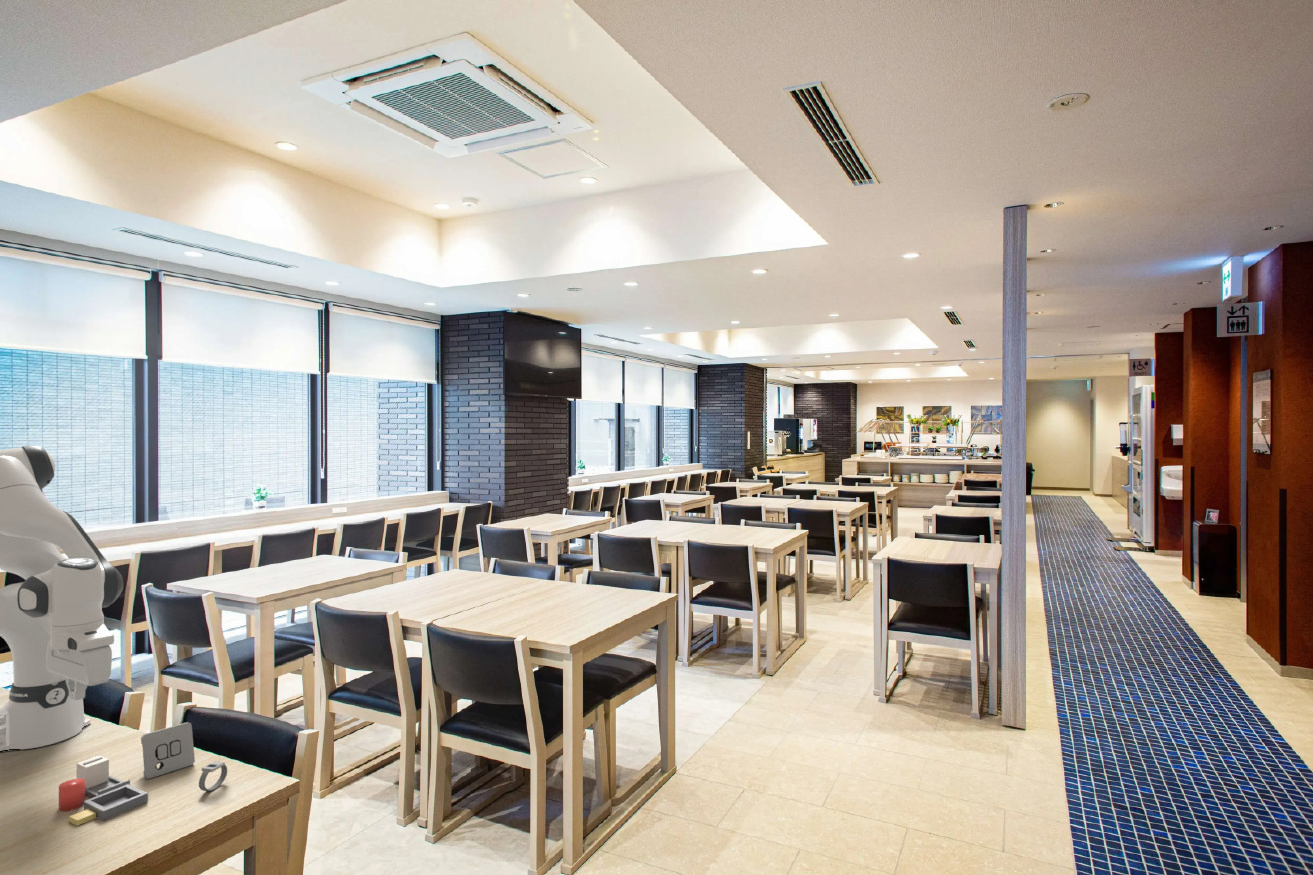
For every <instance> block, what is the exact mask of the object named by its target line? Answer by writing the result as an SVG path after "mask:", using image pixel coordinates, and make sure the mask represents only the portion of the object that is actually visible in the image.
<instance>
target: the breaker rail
mask: <svg viewBox="0 0 1313 875" xmlns="http://www.w3.org/2000/svg"><path fill="white" fill-rule="evenodd" d="M127 784H129V785H131V780H130V779H129V778H128V779H126V780H120V779H118V778H117V777H114V776H113V775H112V776H111V775H109V781H107V782H104V783H101V784H99V785H96V786H93V787H91V788H88V789H86V788H85V796H87V797H88V798H90V799H91V798H94V797H96V796H99V795H101V794H104V793H106V792H109V791H112V790H114V789H117V788H119V787H122V786H124V785H127Z"/></svg>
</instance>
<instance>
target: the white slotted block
mask: <svg viewBox="0 0 1313 875" xmlns="http://www.w3.org/2000/svg"><path fill="white" fill-rule="evenodd" d="M109 772H110V760H109V758H106V757H104V756H102V755H97V756H94V757H91V758H89V759H86V760H83V761H80V762H77V763H76V779H78V778H83V779H85V788H86V789H88V788H91V787H93V786H96V785H99V784H101V783H104V782H107V781H109V776H110V775H109Z"/></svg>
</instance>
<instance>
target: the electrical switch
mask: <svg viewBox="0 0 1313 875" xmlns="http://www.w3.org/2000/svg"><path fill="white" fill-rule="evenodd" d="M193 736H194V735H193V726H192V723H191V722H183V723H181V724H176V725H172V726H169V727H165V728H163V729H162V728H161V729H158V730H154V731H150V732H146V733H144V734H142V736H141V737H140V741H141V746H142V760H143V778H144V779H146V780H149V779H152V778H156V777H158V776H161V775H165V774H168V773H171V772H173V771H178V770H180V769H184V768H186V767H190V766H192V765H194V764H195V761H196V758H195V748H194V747H195V746H194V738H193ZM157 765H159V767H158V766H157Z"/></svg>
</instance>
